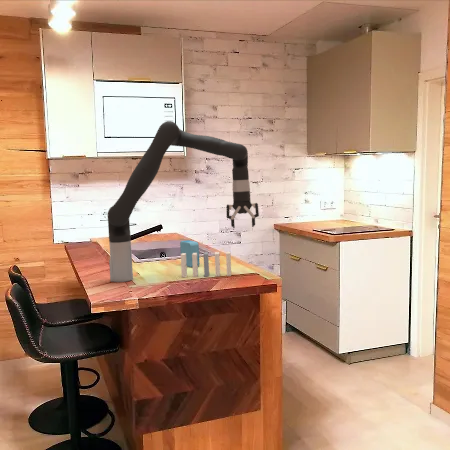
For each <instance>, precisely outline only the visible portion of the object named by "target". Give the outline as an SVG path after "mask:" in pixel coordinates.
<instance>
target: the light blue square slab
mask: <svg viewBox="0 0 450 450" xmlns="http://www.w3.org/2000/svg"><path fill="white" fill-rule="evenodd" d="M179 246H180V255H181V254H182V253H186V263H187V268H188V267H189V268H193V264H192V254H193V253H197V261H198V267H199V266H200V263H201V262H200V250H199V249H200V246H199V243H198V241H193V240H181V241H180V243H179Z"/></svg>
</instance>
